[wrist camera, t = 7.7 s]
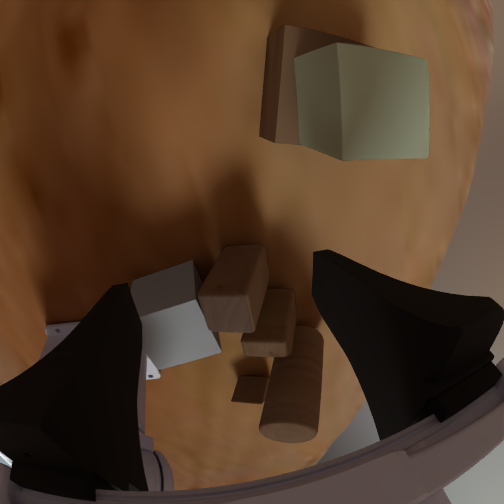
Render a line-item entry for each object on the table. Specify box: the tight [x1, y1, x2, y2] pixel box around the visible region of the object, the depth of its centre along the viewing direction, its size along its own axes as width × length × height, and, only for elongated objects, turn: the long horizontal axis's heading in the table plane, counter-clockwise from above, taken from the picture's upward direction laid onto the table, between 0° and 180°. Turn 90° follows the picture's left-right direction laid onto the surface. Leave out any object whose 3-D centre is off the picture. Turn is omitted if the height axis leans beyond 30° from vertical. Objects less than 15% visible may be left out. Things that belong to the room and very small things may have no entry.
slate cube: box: [130, 260, 222, 370], centre depth 21 cm, size 5×5×5 cm
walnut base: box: [259, 24, 374, 145], centre depth 16 cm, size 7×7×4 cm
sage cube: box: [294, 43, 430, 161], centre depth 13 cm, size 5×5×5 cm
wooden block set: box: [198, 244, 324, 443], centre depth 22 cm, size 18×9×10 cm, turn 9°
